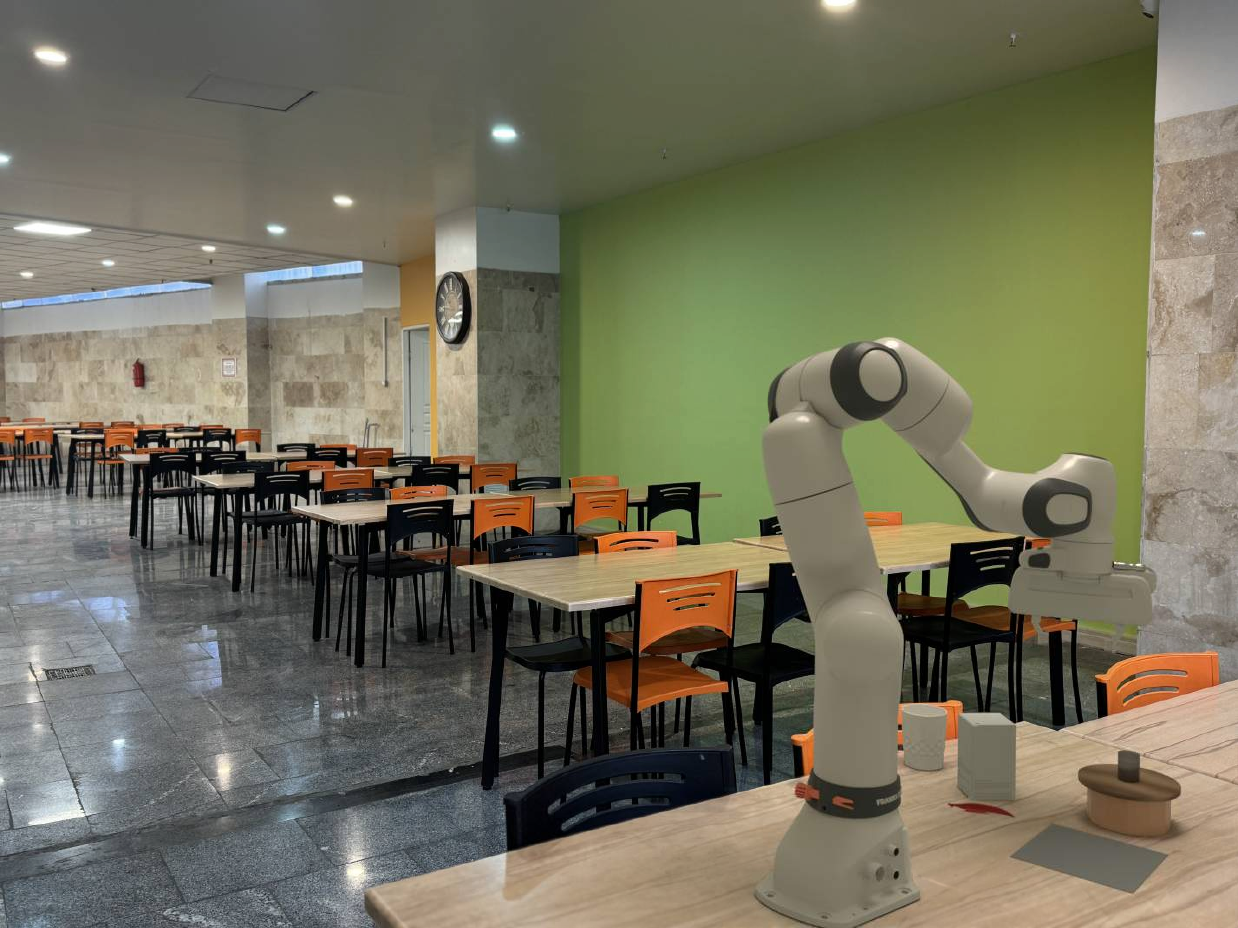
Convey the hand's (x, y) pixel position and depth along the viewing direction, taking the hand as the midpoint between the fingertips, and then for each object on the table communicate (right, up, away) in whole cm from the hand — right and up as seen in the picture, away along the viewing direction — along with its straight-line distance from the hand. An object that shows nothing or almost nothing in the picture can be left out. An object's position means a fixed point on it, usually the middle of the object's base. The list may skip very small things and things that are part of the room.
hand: (1075, 647), depth 153 cm
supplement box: (-10, -26, +11) cm, 30 cm away
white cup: (-16, -26, +25) cm, 39 cm away
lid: (+7, -21, -1) cm, 22 cm away
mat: (-4, -27, -13) cm, 31 cm away
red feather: (-13, -27, +3) cm, 31 cm away
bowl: (+8, -27, -1) cm, 28 cm away
